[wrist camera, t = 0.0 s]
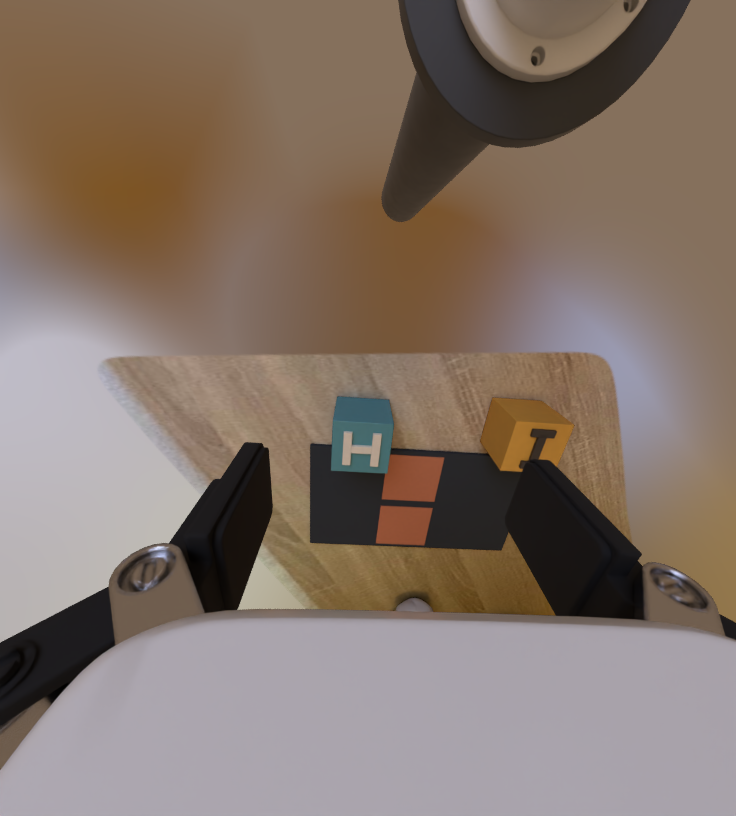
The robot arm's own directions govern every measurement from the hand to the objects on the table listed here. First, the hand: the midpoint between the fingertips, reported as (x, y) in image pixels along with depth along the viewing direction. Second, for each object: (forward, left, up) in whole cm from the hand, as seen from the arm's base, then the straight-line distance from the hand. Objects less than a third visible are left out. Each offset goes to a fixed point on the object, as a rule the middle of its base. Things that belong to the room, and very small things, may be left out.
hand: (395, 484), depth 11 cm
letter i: (+6, +14, -18) cm, 23 cm away
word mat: (+17, +6, -18) cm, 25 cm away
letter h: (+7, -1, -18) cm, 19 cm away
